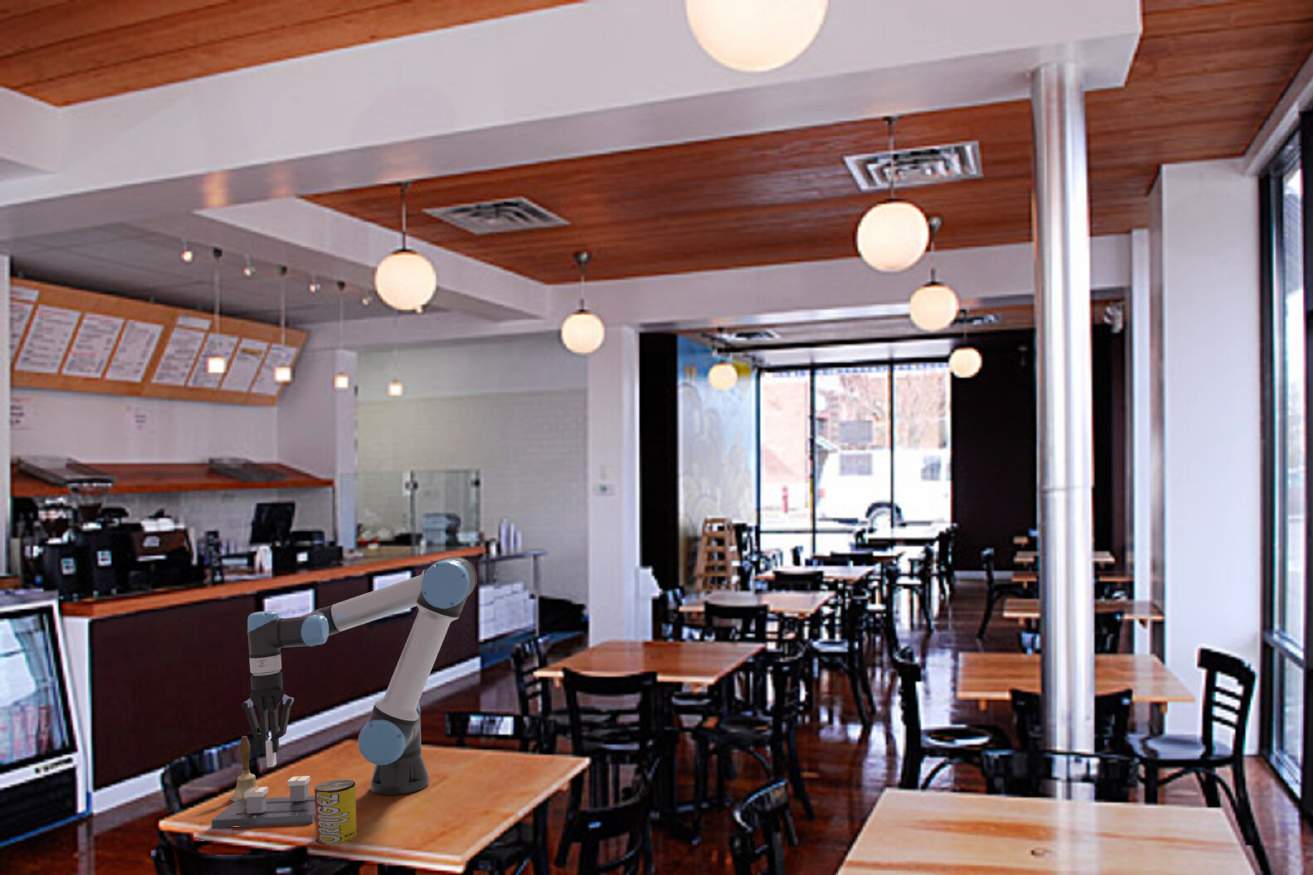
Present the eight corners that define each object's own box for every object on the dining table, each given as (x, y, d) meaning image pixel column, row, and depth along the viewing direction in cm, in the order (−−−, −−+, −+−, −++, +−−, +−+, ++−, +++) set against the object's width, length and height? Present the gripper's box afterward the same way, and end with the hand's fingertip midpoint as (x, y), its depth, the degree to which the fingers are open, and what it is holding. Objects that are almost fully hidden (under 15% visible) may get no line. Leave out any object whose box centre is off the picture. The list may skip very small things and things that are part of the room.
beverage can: (315, 834, 236) (313, 782, 237) (355, 828, 240) (353, 777, 240) (316, 847, 228) (315, 793, 228) (358, 840, 231) (356, 787, 232)
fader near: (268, 807, 250) (268, 785, 250) (262, 813, 246) (262, 790, 247) (250, 808, 250) (250, 786, 250) (244, 814, 246) (244, 791, 246)
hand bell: (251, 802, 264) (250, 740, 265) (223, 801, 266) (221, 739, 266) (269, 792, 272) (268, 732, 273) (242, 791, 274) (240, 732, 274)
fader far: (310, 796, 258) (310, 774, 259) (305, 801, 254) (305, 779, 255) (293, 797, 258) (292, 775, 259) (288, 802, 254) (287, 780, 255)
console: (331, 802, 260) (331, 794, 261) (312, 823, 244) (311, 814, 245) (237, 807, 260) (237, 798, 260) (211, 828, 244) (211, 819, 244)
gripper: (234, 677, 255) (240, 772, 254) (287, 673, 256) (292, 767, 255) (245, 671, 263) (251, 763, 262) (296, 667, 263) (302, 759, 262)
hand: (271, 765), depth 258 cm, fingers closed
